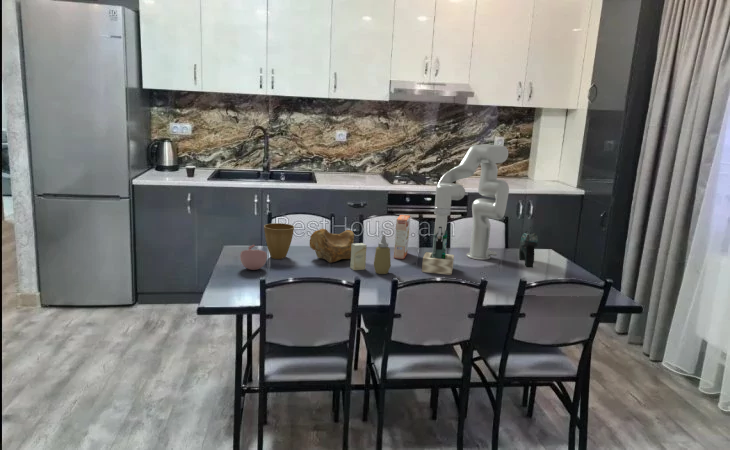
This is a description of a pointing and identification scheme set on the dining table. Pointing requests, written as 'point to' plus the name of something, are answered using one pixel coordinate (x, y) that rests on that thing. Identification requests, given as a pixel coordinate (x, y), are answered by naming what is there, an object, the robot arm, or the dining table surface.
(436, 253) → the can
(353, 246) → the skincare box
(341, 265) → the dining table surface
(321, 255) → the rough brown rock
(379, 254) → the squeeze bottle
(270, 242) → the plant pot
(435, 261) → the well block
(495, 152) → the robot arm
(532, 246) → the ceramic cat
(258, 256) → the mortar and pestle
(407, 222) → the cracker box
